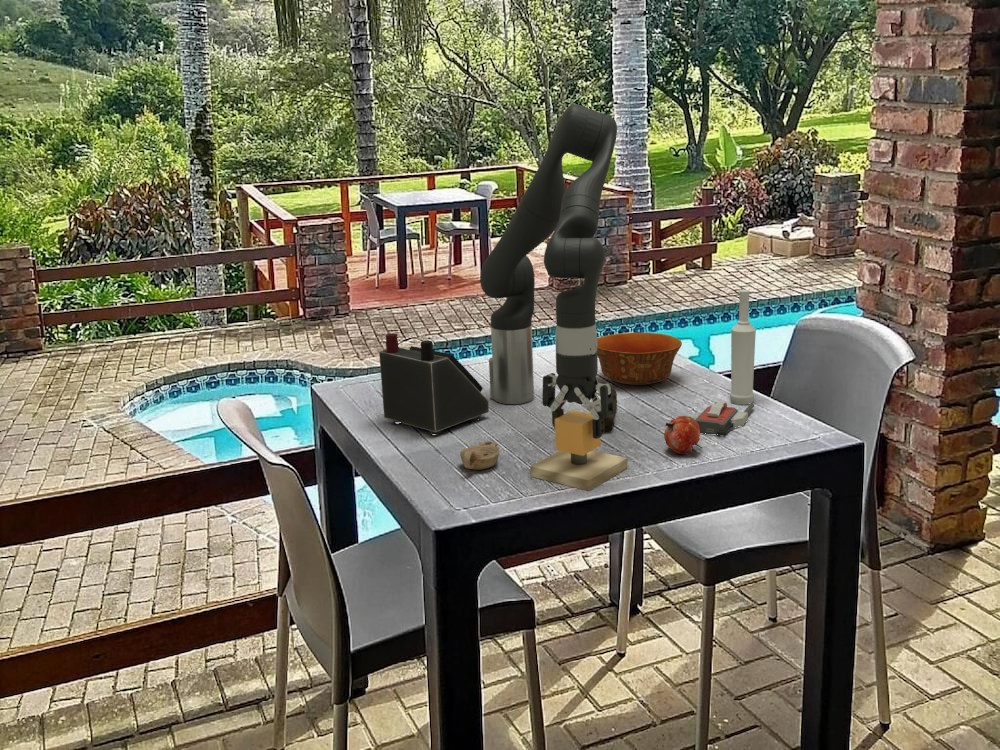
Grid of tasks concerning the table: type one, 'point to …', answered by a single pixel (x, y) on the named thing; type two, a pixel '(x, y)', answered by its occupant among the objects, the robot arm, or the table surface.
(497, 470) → the table surface
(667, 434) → the pomegranate
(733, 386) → the bottle
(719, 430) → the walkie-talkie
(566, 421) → the mustard yellow cube
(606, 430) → the hand tool
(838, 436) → the table surface
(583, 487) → the cream base with peg
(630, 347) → the bowl
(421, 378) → the voltmeter
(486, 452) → the oil lamp
